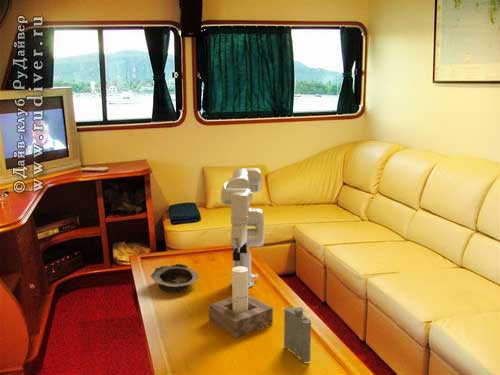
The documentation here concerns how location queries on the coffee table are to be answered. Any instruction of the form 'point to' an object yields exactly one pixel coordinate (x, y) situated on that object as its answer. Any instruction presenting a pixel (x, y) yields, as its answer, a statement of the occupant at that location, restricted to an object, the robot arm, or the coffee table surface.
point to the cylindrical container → (240, 289)
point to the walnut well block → (240, 317)
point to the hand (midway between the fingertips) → (239, 256)
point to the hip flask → (297, 332)
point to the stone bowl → (174, 277)
